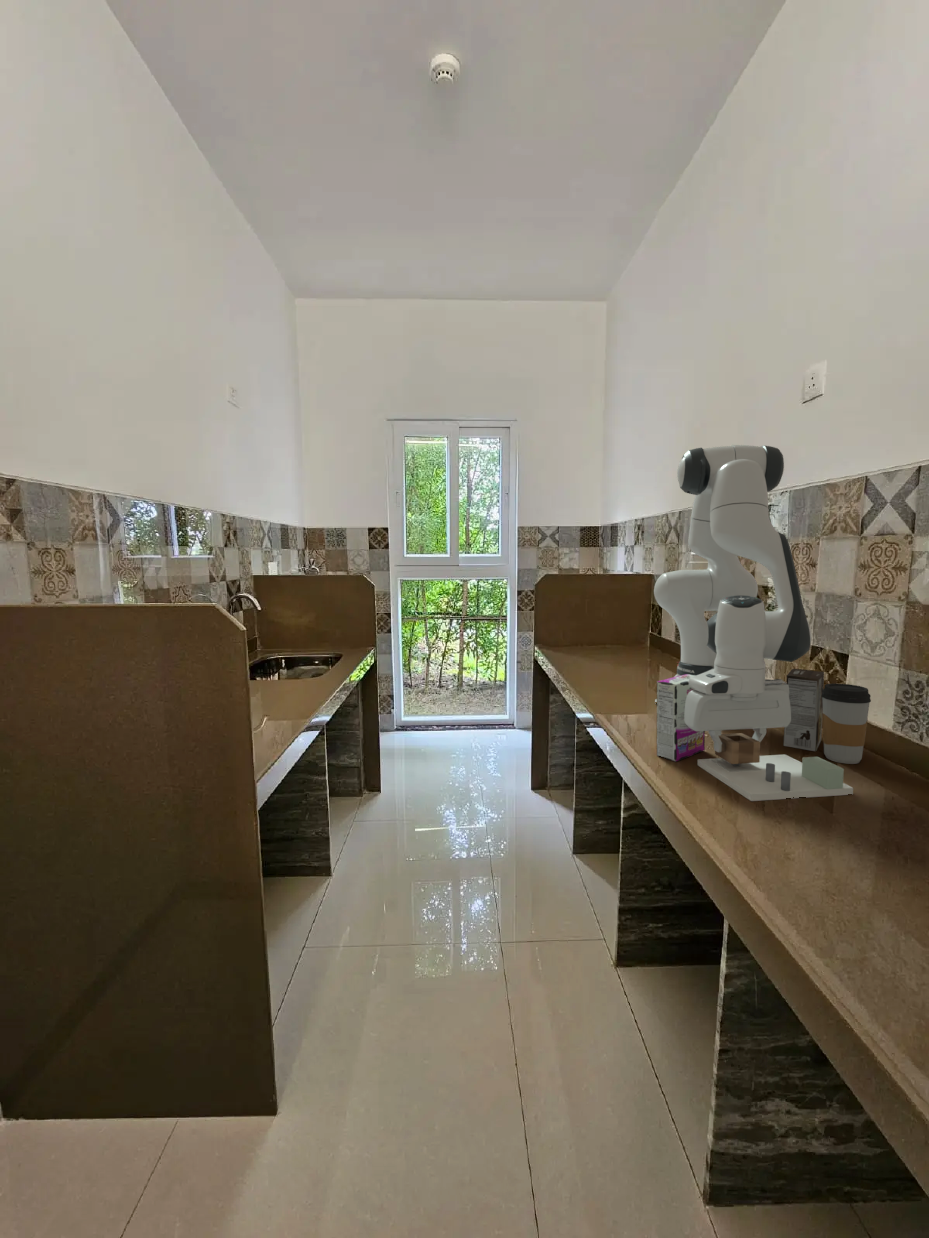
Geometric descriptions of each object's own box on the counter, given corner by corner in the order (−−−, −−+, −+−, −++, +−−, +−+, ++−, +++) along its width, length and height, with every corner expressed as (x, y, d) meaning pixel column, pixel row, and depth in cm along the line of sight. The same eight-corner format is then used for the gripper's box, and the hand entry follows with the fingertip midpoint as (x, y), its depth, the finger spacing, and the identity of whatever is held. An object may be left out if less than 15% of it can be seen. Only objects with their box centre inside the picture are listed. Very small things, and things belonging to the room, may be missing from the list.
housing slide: (801, 775, 99) (802, 757, 99) (816, 775, 100) (817, 756, 99) (826, 789, 93) (827, 769, 93) (842, 788, 94) (843, 768, 93)
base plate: (697, 765, 109) (698, 737, 108) (784, 760, 111) (786, 733, 110) (751, 801, 92) (752, 768, 91) (852, 794, 94) (854, 762, 93)
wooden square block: (714, 754, 107) (715, 734, 107) (741, 752, 108) (741, 733, 108) (731, 764, 102) (732, 743, 101) (759, 762, 102) (760, 741, 102)
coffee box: (789, 735, 126) (792, 668, 125) (822, 741, 122) (825, 671, 121) (782, 746, 119) (785, 674, 118) (816, 751, 115) (820, 677, 114)
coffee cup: (876, 767, 106) (880, 692, 105) (829, 764, 108) (832, 691, 106) (854, 752, 114) (858, 683, 113) (811, 750, 116) (814, 682, 115)
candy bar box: (684, 745, 121) (685, 673, 119) (705, 751, 117) (707, 676, 115) (654, 755, 114) (655, 680, 113) (675, 762, 110) (677, 684, 109)
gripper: (777, 675, 108) (775, 742, 109) (680, 679, 106) (679, 747, 107) (800, 681, 102) (797, 753, 103) (698, 686, 99) (696, 758, 101)
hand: (736, 750), depth 105 cm, fingers closed on wooden square block, 6 cm apart
